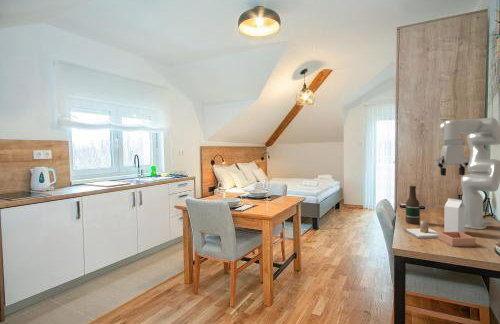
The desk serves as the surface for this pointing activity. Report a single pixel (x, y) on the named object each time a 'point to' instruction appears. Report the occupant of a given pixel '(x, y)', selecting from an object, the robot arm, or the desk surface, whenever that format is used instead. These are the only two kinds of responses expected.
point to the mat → (417, 236)
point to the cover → (424, 230)
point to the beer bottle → (412, 207)
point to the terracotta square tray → (456, 239)
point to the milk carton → (454, 216)
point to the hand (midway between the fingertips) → (452, 175)
